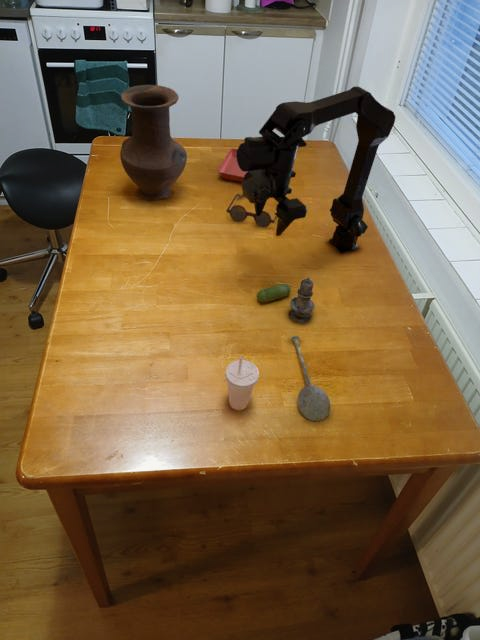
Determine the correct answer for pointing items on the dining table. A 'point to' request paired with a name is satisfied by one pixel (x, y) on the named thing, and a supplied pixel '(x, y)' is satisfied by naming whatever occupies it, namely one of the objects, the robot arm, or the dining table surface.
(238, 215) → the eyeglasses
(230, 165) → the plant saucer
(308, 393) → the soupspoon
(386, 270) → the dining table surface
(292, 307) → the chess piece
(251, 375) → the smoothie
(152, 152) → the vase
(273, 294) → the pickle
